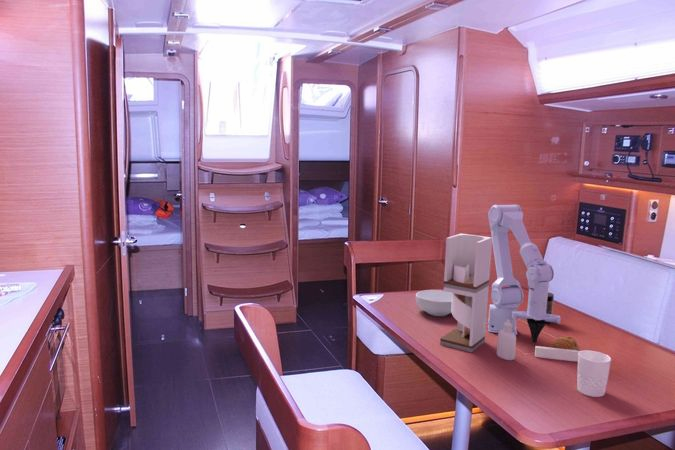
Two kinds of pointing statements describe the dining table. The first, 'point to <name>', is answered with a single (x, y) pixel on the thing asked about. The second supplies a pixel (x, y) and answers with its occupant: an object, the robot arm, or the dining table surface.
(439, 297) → the cereal bowl
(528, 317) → the robot arm
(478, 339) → the display case
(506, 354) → the eye dropper bottle
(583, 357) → the white cup
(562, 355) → the white rectangular bar
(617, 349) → the dining table surface
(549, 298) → the supplement container
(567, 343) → the pastry
